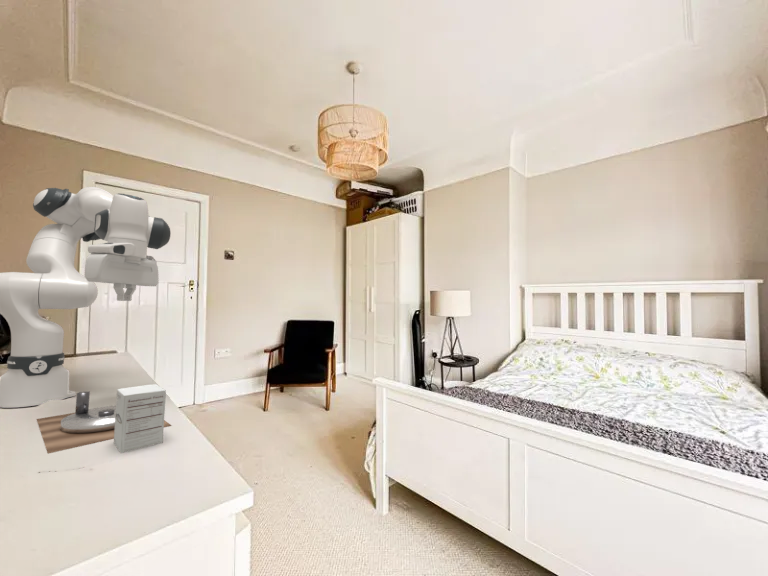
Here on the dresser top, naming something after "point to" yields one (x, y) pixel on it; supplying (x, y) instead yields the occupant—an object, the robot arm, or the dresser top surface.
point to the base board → (69, 435)
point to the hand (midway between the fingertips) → (124, 300)
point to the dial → (88, 417)
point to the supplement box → (139, 417)
